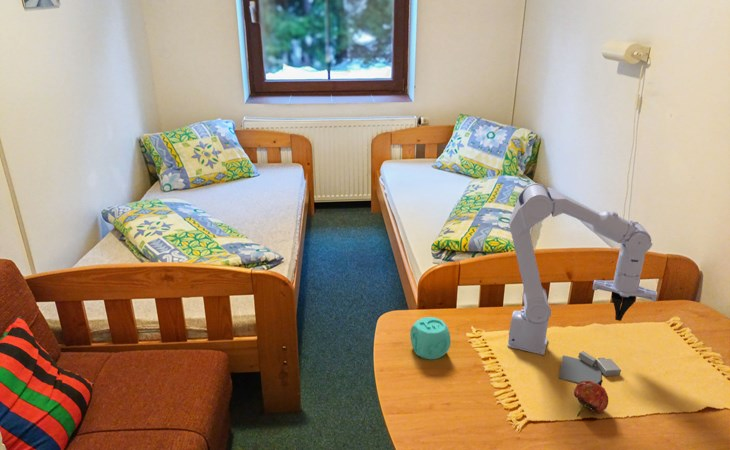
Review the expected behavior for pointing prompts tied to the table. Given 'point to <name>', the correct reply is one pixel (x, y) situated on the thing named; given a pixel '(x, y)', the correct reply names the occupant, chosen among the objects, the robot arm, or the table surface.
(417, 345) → the decorative dice
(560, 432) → the table surface
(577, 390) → the pomegranate
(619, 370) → the lighter
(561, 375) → the mat
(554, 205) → the robot arm
